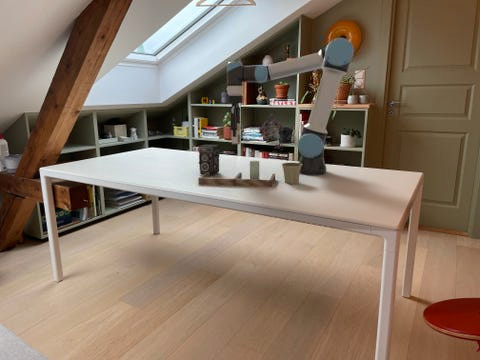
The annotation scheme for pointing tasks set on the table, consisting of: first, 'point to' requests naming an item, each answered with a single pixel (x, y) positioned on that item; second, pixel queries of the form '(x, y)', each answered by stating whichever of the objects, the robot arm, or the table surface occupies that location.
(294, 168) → the flower pot
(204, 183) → the rack
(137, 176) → the table surface
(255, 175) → the sage post
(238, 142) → the beech post
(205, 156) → the camera
